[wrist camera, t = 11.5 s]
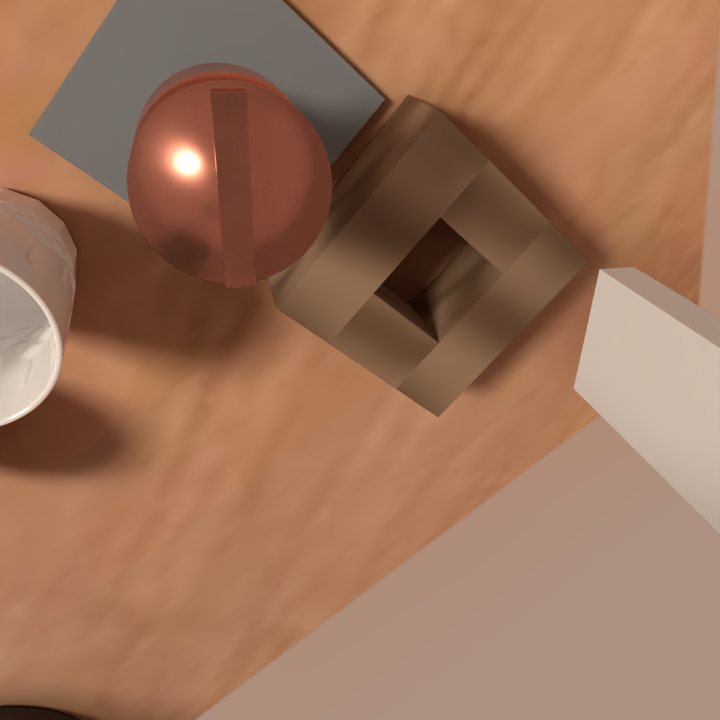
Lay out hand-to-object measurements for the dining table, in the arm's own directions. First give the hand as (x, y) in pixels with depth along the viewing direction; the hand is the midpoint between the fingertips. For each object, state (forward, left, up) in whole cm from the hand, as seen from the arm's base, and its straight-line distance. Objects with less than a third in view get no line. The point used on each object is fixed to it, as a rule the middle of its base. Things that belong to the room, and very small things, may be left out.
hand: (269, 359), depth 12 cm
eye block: (+1, -13, -24) cm, 28 cm away
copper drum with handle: (0, 0, -24) cm, 24 cm away
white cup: (-12, +4, -25) cm, 27 cm away
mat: (0, 0, -24) cm, 24 cm away
